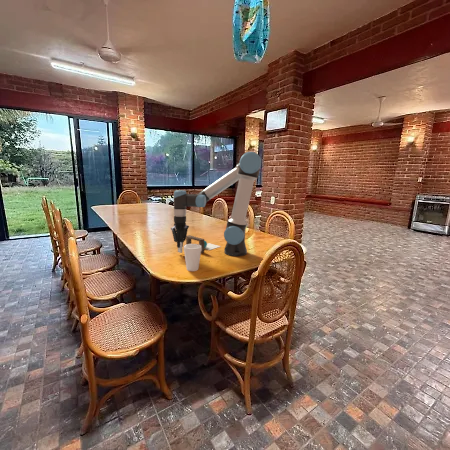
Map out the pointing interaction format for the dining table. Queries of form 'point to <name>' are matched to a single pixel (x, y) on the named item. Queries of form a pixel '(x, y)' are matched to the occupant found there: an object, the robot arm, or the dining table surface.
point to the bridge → (201, 241)
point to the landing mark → (211, 246)
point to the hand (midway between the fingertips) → (180, 252)
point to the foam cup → (192, 256)
